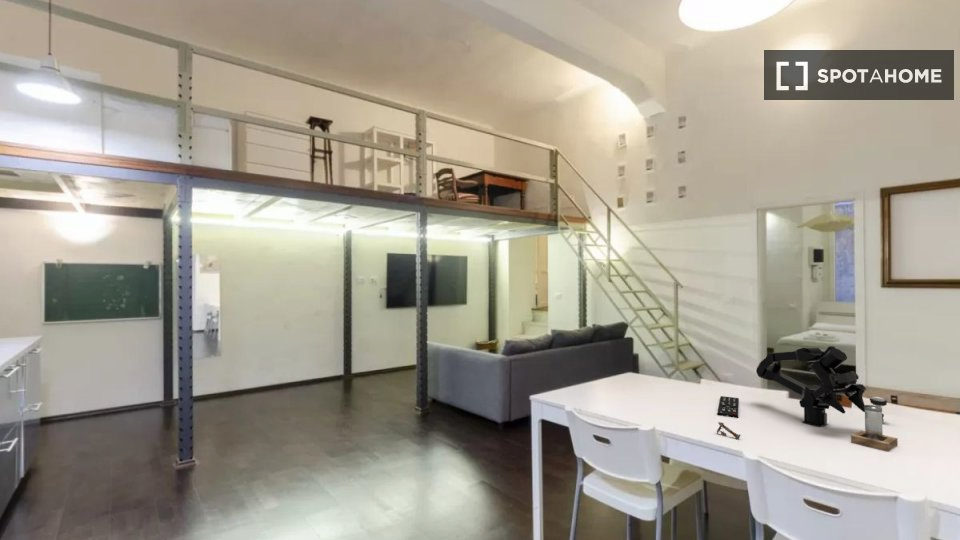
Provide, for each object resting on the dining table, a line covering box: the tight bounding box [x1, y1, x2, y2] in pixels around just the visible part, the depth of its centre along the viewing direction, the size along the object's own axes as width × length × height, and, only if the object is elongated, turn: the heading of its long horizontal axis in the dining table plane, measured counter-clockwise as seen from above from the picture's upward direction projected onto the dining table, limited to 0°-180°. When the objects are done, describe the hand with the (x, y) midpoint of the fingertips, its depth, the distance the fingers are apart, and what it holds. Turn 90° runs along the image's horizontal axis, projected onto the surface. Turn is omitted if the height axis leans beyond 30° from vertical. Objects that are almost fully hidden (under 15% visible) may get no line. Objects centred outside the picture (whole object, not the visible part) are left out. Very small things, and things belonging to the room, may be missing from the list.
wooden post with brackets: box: [716, 421, 742, 440], centre depth 166 cm, size 2×8×4 cm, turn 35°
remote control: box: [716, 395, 740, 419], centre depth 202 cm, size 8×32×2 cm, turn 150°
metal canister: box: [864, 404, 884, 441], centre depth 157 cm, size 5×5×13 cm
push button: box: [869, 396, 888, 424], centre depth 180 cm, size 7×5×10 cm
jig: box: [850, 429, 899, 452], centre depth 157 cm, size 10×10×2 cm
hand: (854, 412), depth 164 cm, fingers open, 9 cm apart
